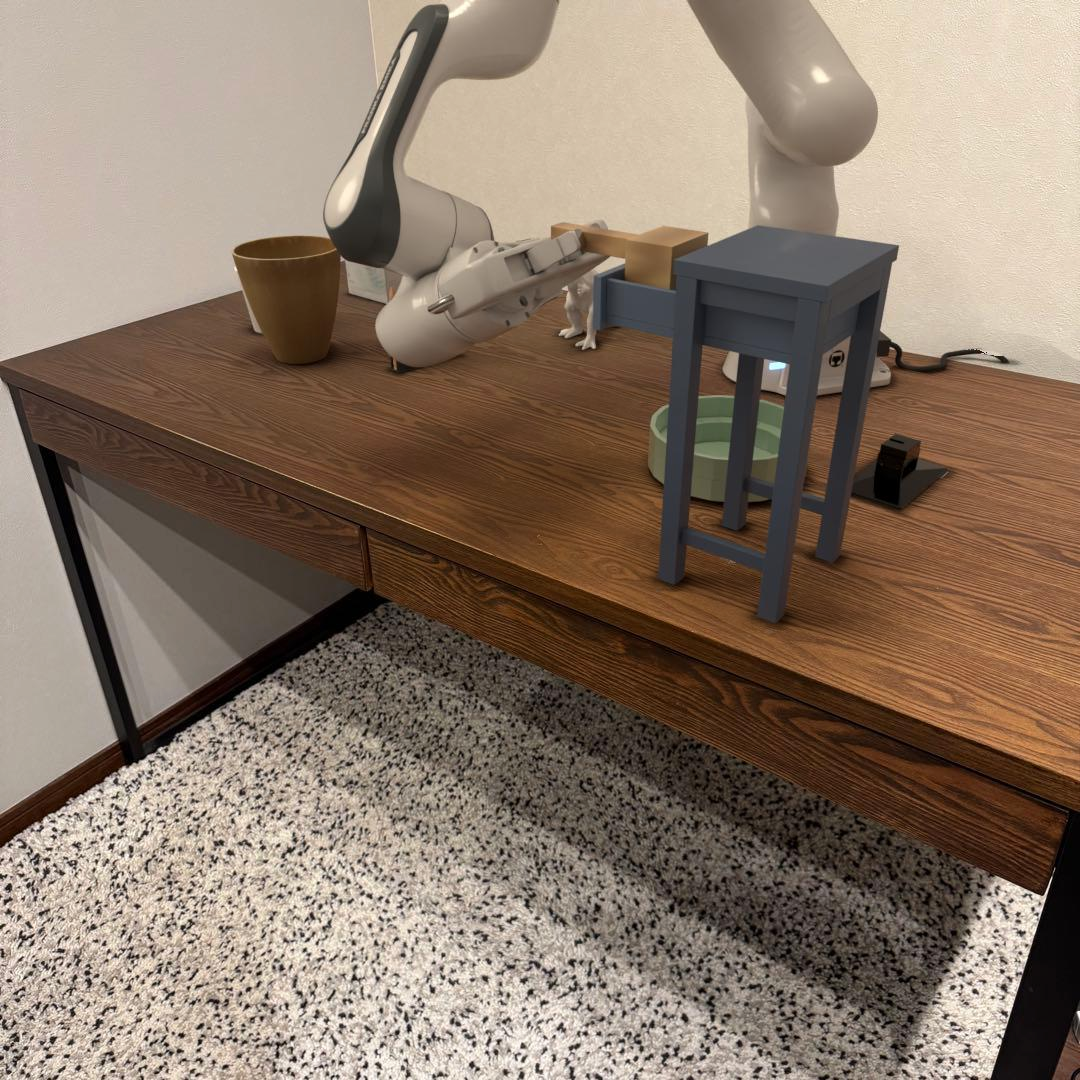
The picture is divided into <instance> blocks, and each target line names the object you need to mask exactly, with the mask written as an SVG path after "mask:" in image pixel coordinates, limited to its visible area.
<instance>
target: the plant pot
mask: <svg viewBox="0 0 1080 1080" xmlns="http://www.w3.org/2000/svg"><path fill="white" fill-rule="evenodd" d="M230 253H231V255H232V258H233V262H234V265H235V266H236V268H237V271H238V274H239V277H240V281H241V283H242V286H243V289H244V292H245V294H246V297H247V300H248V302H249V305H250V307H251V309H252V312H253V314H254V316H255V318H256V321H257V323H258V325H259V327H260V329H261V331H262V333H261V334H262V335H263V337H264V339H265V341H266V343H267V344H268V347H269V349H270V350H271V352H272V354H273V356H274V358H276V360H277V361H278V362H280V363H283V364H289V365H303V364H304V365H305V364H310V363H311V364H312V363H316V362H318V361H322V360H323V359H325V358H326V357H327V356H328V352H329V349H330V345H331V341H332V337H333V336H332V335H333V332H334V328H335V327H334V326H335V322H336V317H337V308H338V301H339V295H340V281H341V264H342V263H341V262H342V260H341V258H342V256H341V255H340V254H339V252H338V251H337V249H336V248H335V246H334V244H333V243H332V241H331V239H330V237H329V236H328V237H327V236H321V235H305V234H301V235H295V234H294V235H293V234H292V235H279V236H271V237H270V236H269V237H263V238H257V239H252V240H249V241H245V242H242V243H240V244H237V245H236V246H235V245H234V247H233V248H232V249H231V252H230ZM240 281H239V282H240Z"/></svg>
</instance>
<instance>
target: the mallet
mask: <svg viewBox="0 0 1080 1080" xmlns="http://www.w3.org/2000/svg"><path fill="white" fill-rule="evenodd" d="M583 225H584V224H575V223H570V222H565V221H564V222H563V221H562V222H559V223H556V224H553V225H550V236H551V240H553V239H555V238H557V237H559V236H561V235H563V234H565V233H566V232H569V231H572V230H575V229H581V231H582V232H583V237H584V238H585V240H586V242H587V244H586V247H585V248H583V249H581V250H580V251H584V252H590V253H595V254H601V255H606V256H610V257H612V258H618V259H624V264H625V281H628V282H633V283H638V284H643V285H649V286H654V287H659V288H664V289H669V290H675V291H676V280H677V276H676V275H673V273H674V260H675V259H677V258H679V257H682V256H684V255H687V254H689V253H691V252H694V251H696V250H699V249H701V248H704V247H706V246H708V244H709V232H708V231H701V230H695V229H687V228H681V227H675V226H668V225H662V226H659V227H656V228H653V229H651V230H647V231H645V232H642V233H640V234H638V233H634V232H633V233H631V232H626V231H620V230H613V229H609V228H608V229H602V228H595V227H589V226H583Z"/></svg>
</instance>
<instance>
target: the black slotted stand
mask: <svg viewBox="0 0 1080 1080" xmlns="http://www.w3.org/2000/svg"><path fill="white" fill-rule="evenodd" d="M921 443H922V440H919V439H915V438H912V437H909V436H905V435H901V434H898V433H895V434H893V435H892V436H890V437H889V439H886V440H885V441H883V442H882V443H881V444H880V448H879V452H878V453H877V457H876V458H875V459H874V460H873V461H872V462H870V463H869V464H868V465H866V466H865V467H864V468H862V469H861V470H860V471H858V472H856V473H855V475H854V481H853V486H852V492H851V497H852V496H853V497H856V498H859V499H860V500H861V499H862V500H864V501H868V502H871V503H873V504H877V505H879V506H883V507H885V508H889V509H892V510H894V511H898V512H901V511H902V510H904V509H905V508H906V507H907V506H909V504H911V503H912V502H913V501H914V500H915V499H916V498H918V497H919V496H920V495H921V494H922V493H923V492H925V490H927V489H928V488H929V487H930V486H931V485H932V484H934V483H935V482H936V481H938V480H939V479H943V478H944V477H945V476H946V475H948V467H946V466H943V465H941V464H936V463H933V462H929V461H926V460H923V459H920V458H919V457H920V453H921Z"/></svg>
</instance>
